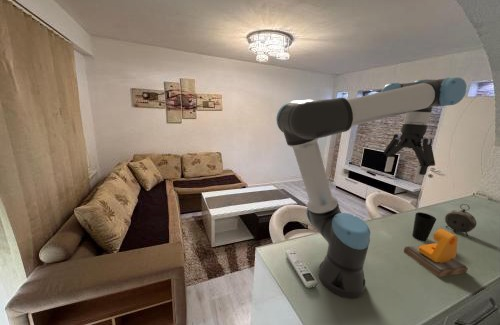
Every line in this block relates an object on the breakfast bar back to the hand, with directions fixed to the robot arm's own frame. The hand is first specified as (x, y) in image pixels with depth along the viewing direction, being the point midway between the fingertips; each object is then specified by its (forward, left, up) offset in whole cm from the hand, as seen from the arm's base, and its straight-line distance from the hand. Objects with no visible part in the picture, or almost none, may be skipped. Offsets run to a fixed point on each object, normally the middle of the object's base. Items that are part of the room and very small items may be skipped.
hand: (401, 176), depth 83 cm
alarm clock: (+51, +7, -34) cm, 62 cm away
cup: (+25, +5, -34) cm, 43 cm away
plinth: (+14, -10, -34) cm, 38 cm away
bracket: (+14, -10, -31) cm, 36 cm away
